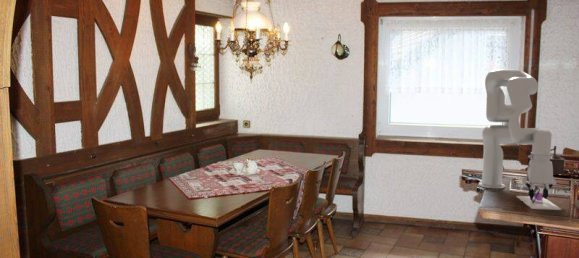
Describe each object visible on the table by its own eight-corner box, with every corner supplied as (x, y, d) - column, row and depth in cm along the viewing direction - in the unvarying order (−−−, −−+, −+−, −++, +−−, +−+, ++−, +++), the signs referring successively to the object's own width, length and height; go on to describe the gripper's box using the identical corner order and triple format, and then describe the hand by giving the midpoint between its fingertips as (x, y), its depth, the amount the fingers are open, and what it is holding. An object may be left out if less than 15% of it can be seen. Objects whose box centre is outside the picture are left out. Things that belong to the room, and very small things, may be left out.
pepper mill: (563, 173, 311) (565, 142, 309) (563, 176, 301) (565, 145, 299) (534, 170, 318) (536, 141, 316) (533, 173, 308) (535, 143, 306)
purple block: (534, 184, 244) (537, 188, 235) (545, 189, 243) (549, 193, 234) (528, 197, 245) (531, 202, 237) (539, 202, 244) (543, 207, 235)
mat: (516, 196, 250) (516, 195, 250) (543, 197, 249) (543, 196, 249) (531, 208, 229) (531, 207, 229) (561, 210, 227) (561, 208, 227)
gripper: (523, 158, 234) (520, 199, 236) (564, 160, 232) (561, 200, 234) (518, 156, 241) (515, 195, 243) (557, 157, 239) (554, 196, 241)
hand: (538, 197), depth 239 cm, fingers open, 5 cm apart
